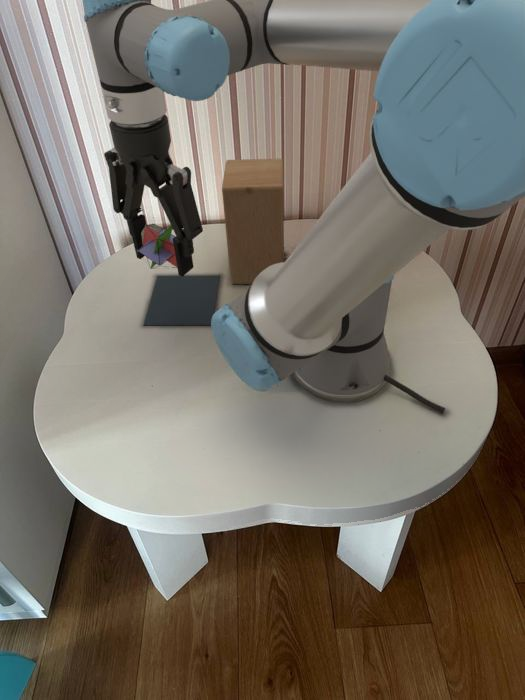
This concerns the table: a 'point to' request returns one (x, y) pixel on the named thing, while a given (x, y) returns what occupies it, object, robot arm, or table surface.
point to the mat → (182, 301)
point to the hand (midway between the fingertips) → (164, 262)
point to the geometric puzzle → (158, 245)
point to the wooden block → (253, 216)
